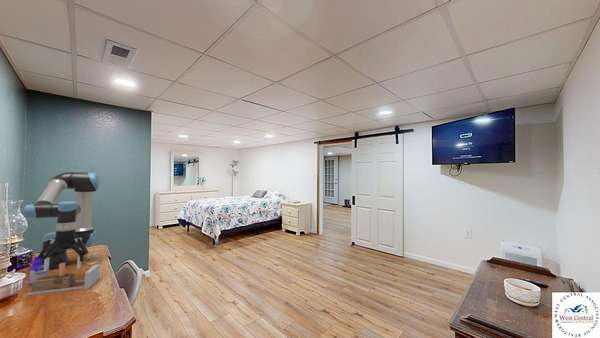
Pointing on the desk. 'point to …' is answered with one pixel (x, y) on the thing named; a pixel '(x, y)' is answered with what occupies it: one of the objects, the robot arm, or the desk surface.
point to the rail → (90, 279)
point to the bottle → (36, 269)
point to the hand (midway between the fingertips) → (62, 269)
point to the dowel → (62, 270)
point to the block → (53, 282)
